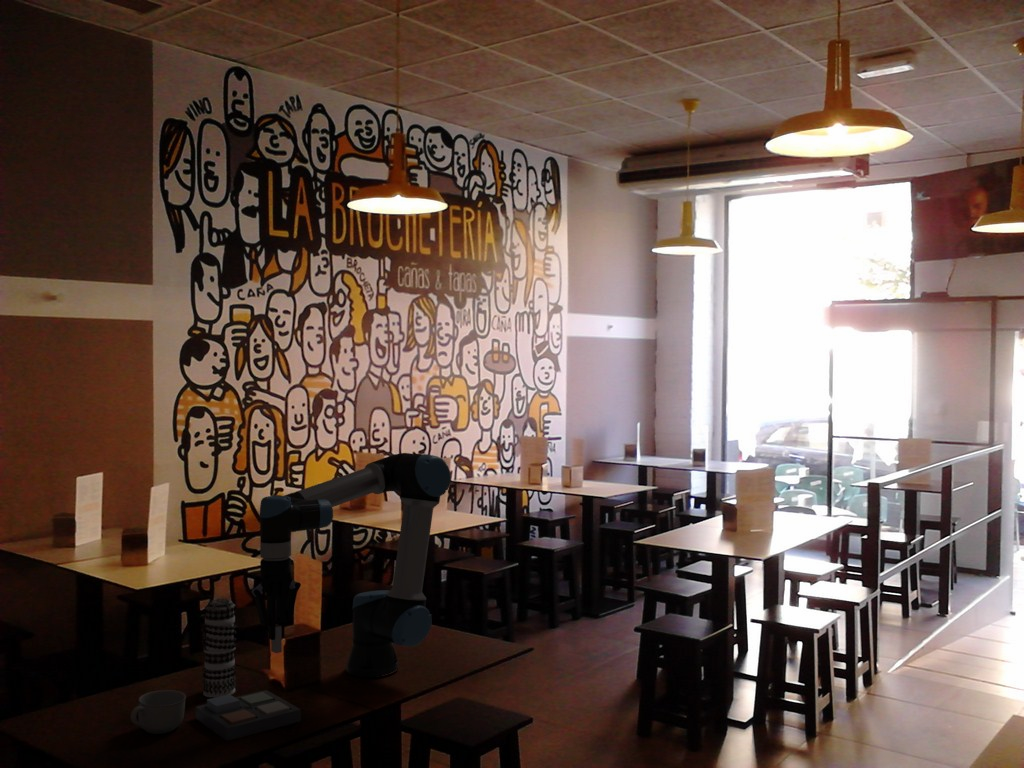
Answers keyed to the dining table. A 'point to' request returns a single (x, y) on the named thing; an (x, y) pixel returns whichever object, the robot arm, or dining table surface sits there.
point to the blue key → (223, 704)
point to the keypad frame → (248, 726)
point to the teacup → (159, 711)
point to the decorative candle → (219, 648)
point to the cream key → (272, 708)
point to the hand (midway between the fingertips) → (276, 651)
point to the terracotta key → (238, 717)
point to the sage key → (256, 699)
